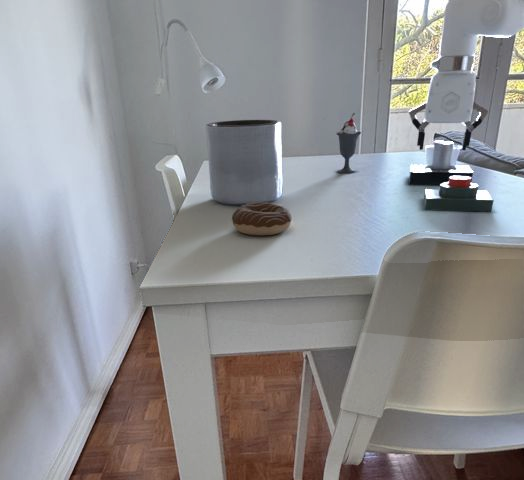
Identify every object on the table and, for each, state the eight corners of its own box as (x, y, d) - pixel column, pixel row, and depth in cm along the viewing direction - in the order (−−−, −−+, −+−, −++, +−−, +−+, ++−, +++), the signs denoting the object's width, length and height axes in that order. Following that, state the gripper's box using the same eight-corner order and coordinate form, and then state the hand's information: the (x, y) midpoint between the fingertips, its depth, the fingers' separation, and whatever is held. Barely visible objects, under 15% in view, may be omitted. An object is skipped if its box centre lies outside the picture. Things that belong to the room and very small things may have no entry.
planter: (207, 208, 99) (200, 126, 91) (215, 192, 113) (209, 121, 105) (283, 206, 98) (283, 124, 91) (281, 190, 112) (281, 118, 105)
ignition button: (468, 185, 94) (470, 175, 93) (470, 189, 90) (472, 179, 89) (447, 184, 95) (448, 175, 94) (448, 188, 91) (450, 179, 90)
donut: (239, 221, 89) (238, 199, 87) (295, 222, 87) (295, 200, 85) (225, 237, 80) (224, 213, 78) (287, 239, 78) (287, 214, 76)
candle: (415, 171, 130) (418, 146, 127) (440, 168, 133) (443, 143, 130) (438, 175, 123) (442, 149, 120) (464, 172, 126) (469, 146, 123)
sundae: (353, 174, 129) (357, 113, 122) (330, 172, 132) (333, 113, 125) (362, 170, 134) (366, 111, 126) (340, 169, 137) (343, 111, 130)
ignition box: (484, 201, 96) (488, 181, 94) (491, 211, 89) (495, 190, 87) (423, 200, 99) (426, 180, 97) (424, 210, 92) (427, 188, 90)
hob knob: (448, 167, 116) (452, 140, 113) (450, 169, 113) (454, 142, 110) (430, 166, 117) (434, 140, 114) (431, 169, 114) (435, 142, 111)
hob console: (466, 178, 119) (468, 164, 117) (470, 185, 110) (473, 171, 109) (409, 177, 122) (410, 164, 121) (409, 184, 114) (410, 171, 112)
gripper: (414, 67, 103) (404, 151, 112) (499, 64, 99) (482, 152, 108) (414, 67, 109) (404, 147, 118) (494, 65, 105) (478, 147, 114)
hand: (441, 149), depth 113 cm, fingers open, 9 cm apart
